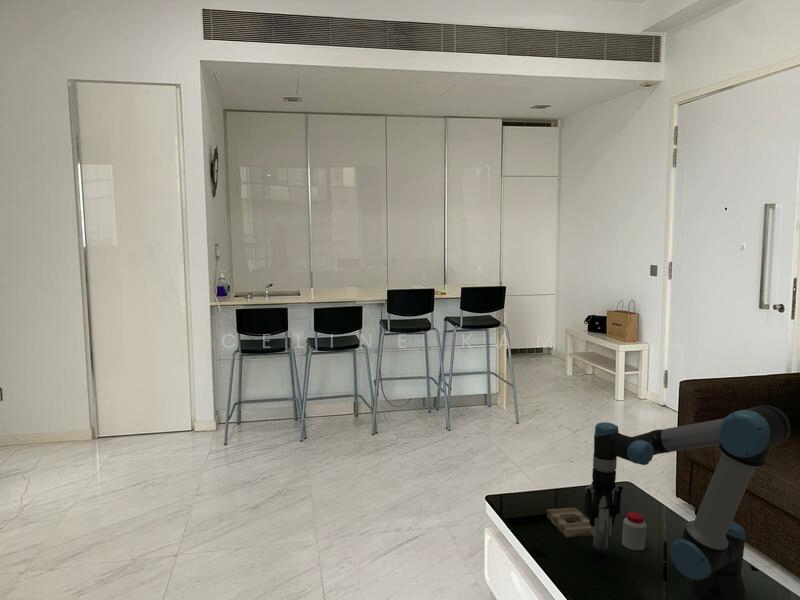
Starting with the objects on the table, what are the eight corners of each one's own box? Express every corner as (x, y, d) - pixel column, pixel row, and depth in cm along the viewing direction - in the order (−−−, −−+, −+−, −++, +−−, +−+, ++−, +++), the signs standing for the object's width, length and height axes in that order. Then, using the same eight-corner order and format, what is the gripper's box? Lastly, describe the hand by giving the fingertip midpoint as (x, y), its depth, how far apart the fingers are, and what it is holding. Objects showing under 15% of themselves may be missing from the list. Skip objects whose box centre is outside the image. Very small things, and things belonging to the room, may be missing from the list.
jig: (596, 535, 219) (596, 527, 218) (565, 537, 216) (566, 529, 216) (575, 514, 234) (575, 507, 234) (546, 516, 232) (547, 509, 232)
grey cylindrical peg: (609, 548, 203) (612, 509, 202) (597, 549, 202) (599, 510, 201) (602, 542, 208) (604, 503, 206) (590, 543, 207) (592, 504, 206)
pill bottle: (646, 551, 208) (649, 521, 207) (623, 548, 210) (625, 519, 209) (642, 540, 216) (644, 511, 215) (620, 538, 217) (622, 509, 216)
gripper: (621, 463, 208) (618, 527, 210) (575, 465, 204) (572, 531, 207) (634, 471, 201) (630, 537, 203) (586, 474, 197) (582, 541, 199)
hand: (600, 534), depth 205 cm, fingers closed on grey cylindrical peg, 5 cm apart
